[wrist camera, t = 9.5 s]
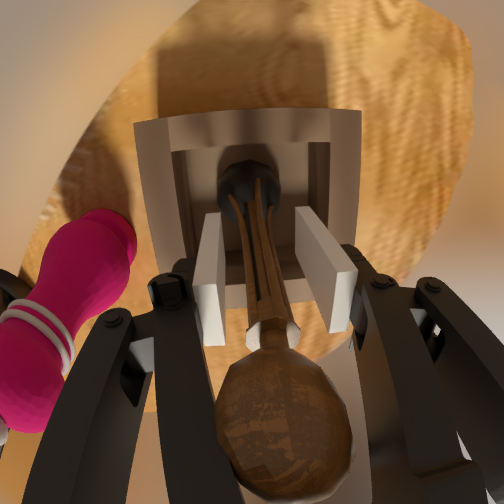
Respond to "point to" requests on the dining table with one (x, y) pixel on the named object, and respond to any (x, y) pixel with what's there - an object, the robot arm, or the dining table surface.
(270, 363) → the wooden tabletop sculpture
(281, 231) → the box
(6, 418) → the pepper mill
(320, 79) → the dining table surface
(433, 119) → the dining table surface
